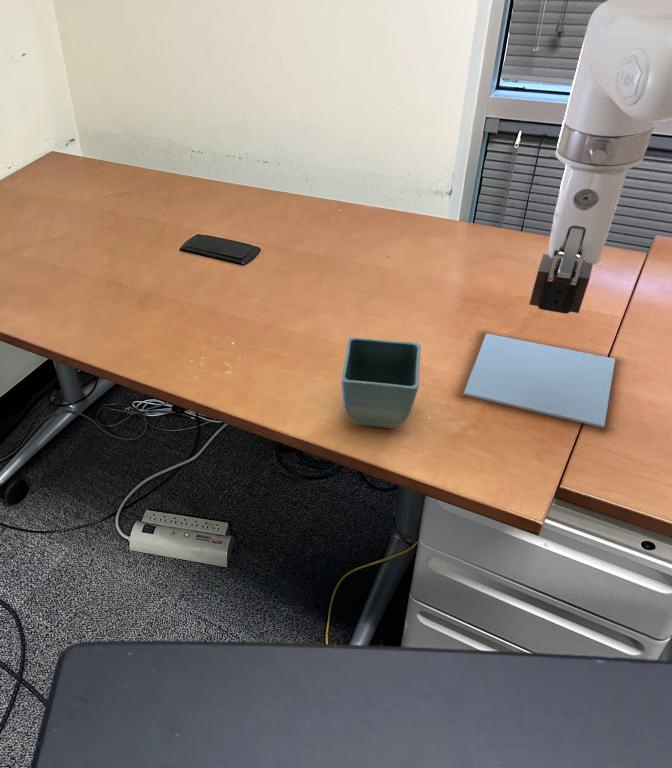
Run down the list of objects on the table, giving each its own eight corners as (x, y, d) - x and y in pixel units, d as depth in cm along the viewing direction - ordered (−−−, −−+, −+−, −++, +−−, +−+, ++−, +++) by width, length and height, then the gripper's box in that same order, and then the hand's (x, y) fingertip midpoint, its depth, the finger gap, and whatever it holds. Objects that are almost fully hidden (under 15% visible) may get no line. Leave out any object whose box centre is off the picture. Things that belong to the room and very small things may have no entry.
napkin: (614, 360, 91) (615, 358, 91) (603, 428, 82) (604, 425, 82) (485, 335, 98) (486, 333, 98) (463, 394, 90) (463, 392, 90)
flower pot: (410, 442, 85) (419, 387, 79) (337, 434, 87) (340, 380, 81) (413, 396, 91) (421, 342, 85) (344, 389, 93) (348, 336, 88)
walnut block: (582, 294, 78) (593, 260, 76) (578, 313, 76) (589, 278, 73) (534, 286, 81) (543, 253, 78) (528, 304, 78) (537, 270, 75)
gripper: (642, 181, 60) (585, 347, 71) (652, 113, 70) (601, 268, 82) (546, 172, 63) (507, 332, 75) (570, 108, 74) (532, 258, 85)
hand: (556, 297), depth 78 cm, fingers closed on walnut block, 4 cm apart
